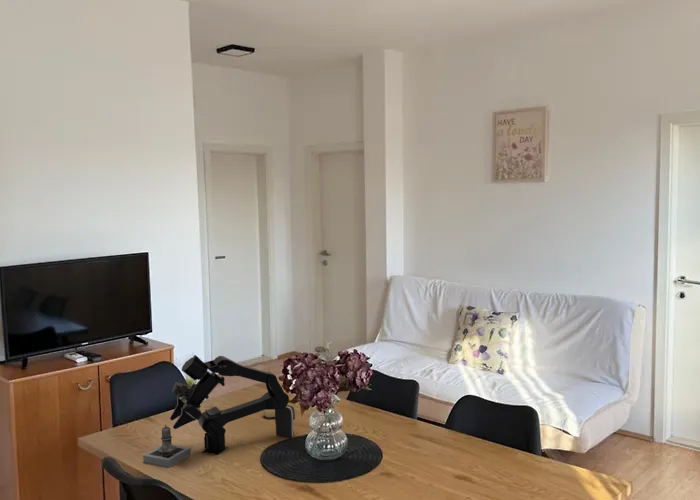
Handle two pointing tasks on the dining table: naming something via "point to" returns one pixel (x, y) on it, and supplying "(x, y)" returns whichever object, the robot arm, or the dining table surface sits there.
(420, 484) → the dining table surface
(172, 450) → the grey tall tiered piece
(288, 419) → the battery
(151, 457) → the frame
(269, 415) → the onion
